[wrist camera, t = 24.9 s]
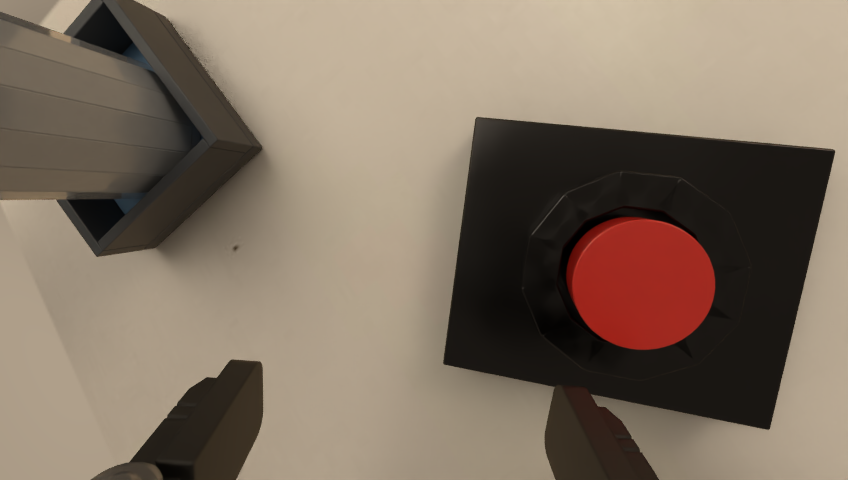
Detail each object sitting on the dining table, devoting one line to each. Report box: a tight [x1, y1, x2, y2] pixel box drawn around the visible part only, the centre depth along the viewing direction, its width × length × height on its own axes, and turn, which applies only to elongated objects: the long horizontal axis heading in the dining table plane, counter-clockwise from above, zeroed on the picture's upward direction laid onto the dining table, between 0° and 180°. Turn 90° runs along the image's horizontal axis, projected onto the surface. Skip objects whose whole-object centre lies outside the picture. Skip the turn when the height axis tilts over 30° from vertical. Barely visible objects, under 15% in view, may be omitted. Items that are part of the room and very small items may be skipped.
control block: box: [443, 117, 835, 430], centre depth 16 cm, size 12×10×4 cm
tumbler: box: [0, 12, 201, 200], centre depth 16 cm, size 6×6×10 cm
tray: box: [57, 0, 262, 257], centre depth 21 cm, size 8×8×3 cm
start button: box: [566, 217, 715, 350], centre depth 14 cm, size 4×4×2 cm
